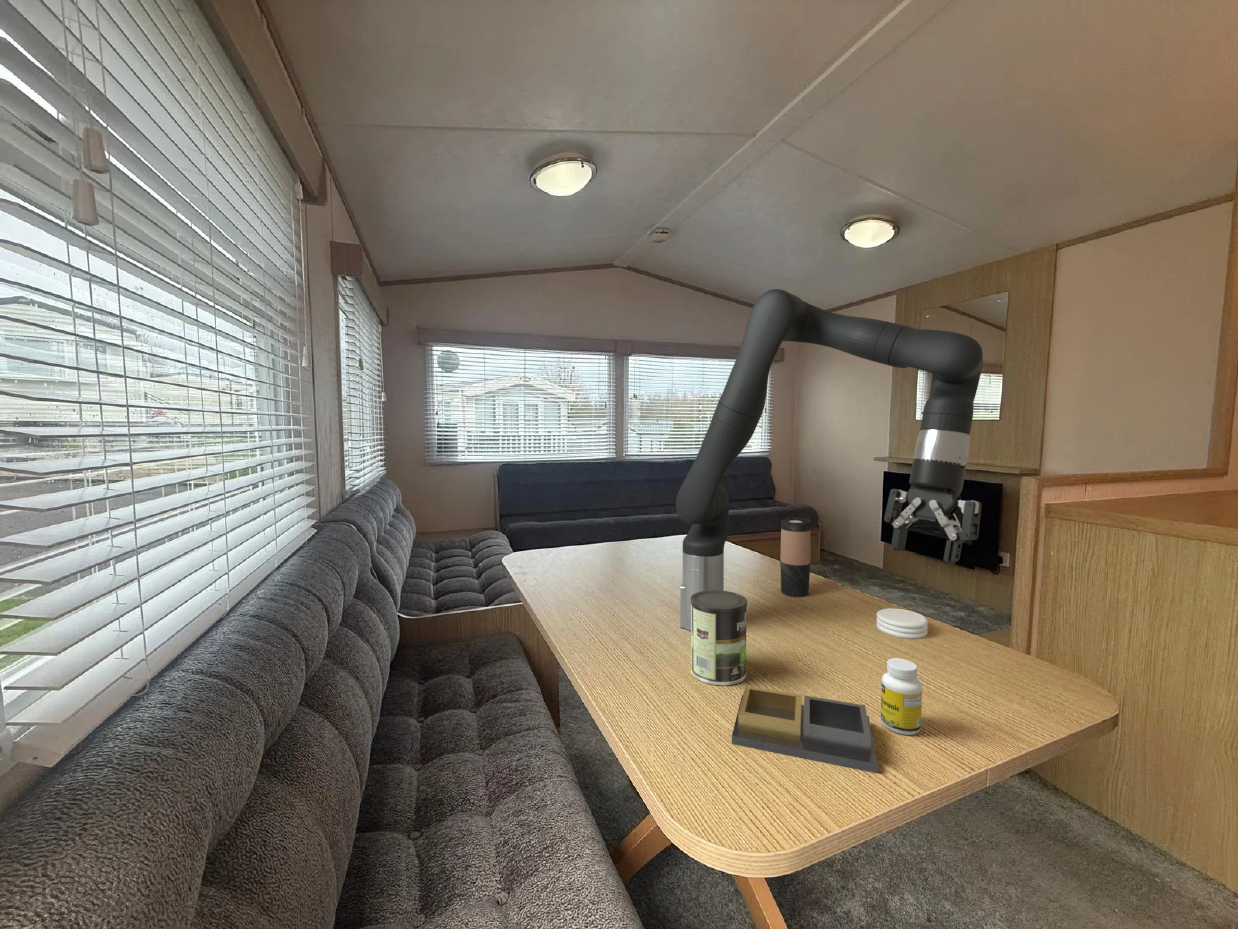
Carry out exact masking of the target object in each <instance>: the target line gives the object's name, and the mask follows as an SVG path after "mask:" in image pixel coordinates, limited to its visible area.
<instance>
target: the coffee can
mask: <svg viewBox="0 0 1238 929" xmlns="http://www.w3.org/2000/svg"><path fill="white" fill-rule="evenodd" d="M690 602H691V631H690V637H691V638H690V642H691V643H690V646H691V648H690V651H691V652H690V656H691V657H690V658H691V660H690V663H691V664H690V667H691V668H690V673H691V675H692V676H693V678H695V679H696V680H698V681H700V682H702V683H705V684H708V685H711V686H725V687H726V686H734V685H738V684H739V683H741V682H743V681H744V680H745V679H746V678H747V608H748V607H747V606H748V598H746V597H745V596H743V595H742V594H740V593H736V592H733V591H728V590H724V591H721V590H709V591H701V592H697V593H695V594H693V595H692V596H691V597H690Z"/></svg>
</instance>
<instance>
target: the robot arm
mask: <svg viewBox="0 0 1238 929" xmlns="http://www.w3.org/2000/svg"><path fill="white" fill-rule="evenodd" d="M783 342H793V343H806V344H812V345H813V344H814V345H819V346H823V347H826V348H827V347H828V348H832V349H834V350H837V351H840V352H843V353H846V354H848V355H851V356H855V357H857V358H862V359H864V360H867V361H871V362H874V363H878V364H880V365H881V364H883V365H885V366H889V367H893V368H898V369H907V368H912V369H916V370H920V371H925V372H929V373H932V376H931V382H930V389H929V394H928V395H929V396H928V399H927V400H926V401H925V403H924V407H923V411H922V418H921V423H920V428H919V433H918V436H917V439H916V442H915V448H914V453H913V459H912V465H911V470H910V476H909V481H908V482H909V485H910V486H909V489H908V491H905V490H903V489H898V488H892V489H890V490H889V491H890V492H889V495H888V498H887V499H888V500H887V504H886V508H885V513H884V516H883V520H884V522H886V523H888V524H890V525H892V527H893V531H892V532H893V533H892V537H891V546H892V549H893V551H897V552H904V551H905V549H906V544H907V538H908V533H909V532H908V531H909V530H908V528H909V527H910V526H911V525H912V524H913V523H914V522H917V521H919V520H925V521H930V522H934V523H938V524H939V525H940V527H942V528H943V530H944V532H945V533H946V536H947V537H948V539H946V543H945V548H944V555H943V560H942V561H943V563H944V564H947V565H955V564H956V562H959V560H960V558H961V553H962V547H963V543H964V542H966V541H972V540H973V541H975V540H977V539H979V533H980V525H981V524H980V522H981V515H982V503H981V502H980V501H977V500H973V499H972V500H962V499H961V493H962V491H963V488H964V487H963V486H964V482H965V476H966V469H967V464H968V461H969V452H970V436H971V431H972V430H971V429H972V424H973V417H974V407H975V406H974V404H975V403H974V402H975V399H976V394H977V393H978V392H977V391H978V388H979V382H980V379H981V376H982V374H981V373H982V371H983V364H984V360H983V357H984V353H983V348H982V345H981V344H980V343H979V341H978V340H976V339H975V338H974V337H971V336H969V335H968V334H967V335H966V334H964V333H959V332H955V331H948V330H939V329H938V330H937V329H936V330H935V329H925V328H921V329H920V328H915V327H911V326H908V325H904V324H900V323H895V322H892V321H888V320H881V319H876V318H870V317H863V316H861V317H860V316H853V315H852V316H851V315H847V314H846V315H845V314H840V313H835V312H831V311H828V310H825V309H822V308H820V307H818V306H815V305H814V304H810V303H808V302H806V301H804V300H802V299H801V298H800V297H798V296H797V295H795V294H792V293H791V292H789V291H787V290H785V289H779V288H773V289H770V290H768V291H765V292H763V294H761V295H760V296H759V298H758V299H756V301H755V303H754V304H753V306H752V309H751V311H750V313H749V317H748V320H747V323H746V327H745V331H744V334H743V338H742V340H741V343H740V347H739V350H738V353H737V356H736V359H735V360H734V364H733V366H732V368H731V370H730V373H729V375H728V378H727V380H726V381H727V382H726V384H725V386H724V388H723V391H722V393H721V395H720V397H719V399H718V402H717V404H716V407H715V410H714V412H713V414H712V416H711V417H712V418H711V420H710V423H709V426H708V428H707V430H706V432H705V435H704V437H703V440H702V443H701V444H700V445H701V446H700V447H699V449H698V453H697V455H696V457H695V459H694V461H693V463H692V466H691V467H690V470H689V471H688V473H687V475H686V476H685V479H684V480H683V482H682V484H681V486H680V488H679V490H678V492H677V495H676V499H675V500H676V501H675V510H676V514H677V515H678V517H679V518H680V519H681V520H682V521H683V522H684V523H686V524H688V525H691V527H690V529H689V531H688V533H687V534H686V535H685V537H683V539H682V584H681V585H680V588H679V589H680V590H679V594H680V595H679V596H680V597H679V598H680V599H679V603H680V604H679V605H680V606H679V607H680V608H679V610H680V611H679V612H680V613H679V614H680V615H679V618H680V620H679V628H682V629H686V630H687V631H690V632H691V602H690V597H691V596H692V595H693V594H695V593H697V592H701V591H709V590H721V591H725V590H724V589H725V588H724V586H725V585H724V584H725V583H724V582H725V580H724V579H725V578H724V574H725V567H724V566H725V559H724V558H725V544H726V541H727V538H728V534H729V531H728V530H729V514H730V513H729V511H730V503H729V497H728V493H727V490H726V488H725V487H724V486H723V485H722V484H721V482H722V479H723V477H724V475H725V474H726V472H727V470H728V468H729V467H730V466H731V464H732V463H733V462H734V461H735V459H737V457H738V456H739V455H740V454H741V452H742V451H743V450H744V448H746V446H747V444H748V443H749V442H750V441H751V439H752V437H753V435H754V433H755V431H756V429H757V427H758V424H759V422H760V420H761V417H762V415H763V413H764V409H765V405H766V400H767V394H768V393H767V392H768V384H769V382H768V381H769V374H770V371H771V368H772V365H773V362H774V359H775V358H776V355H777V353H778V352H779V349H780V347H781V345H782V343H783ZM906 502H907V503H908V506H906V508H904V510H903V511H902V508H903V504H904V503H906ZM959 509H960V512H961V514H963V515H962V525H961V523H960V521H959V519H958V517H957V515H956V514H955V513H957V511H958V510H959ZM961 526H962V527H961Z"/></svg>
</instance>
